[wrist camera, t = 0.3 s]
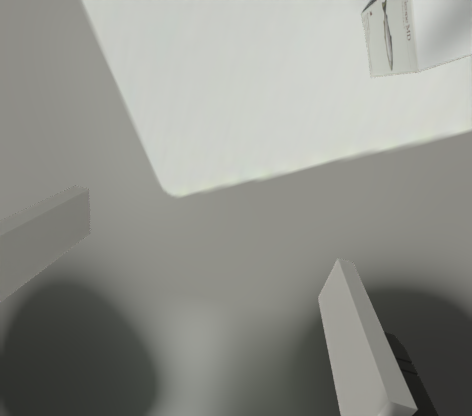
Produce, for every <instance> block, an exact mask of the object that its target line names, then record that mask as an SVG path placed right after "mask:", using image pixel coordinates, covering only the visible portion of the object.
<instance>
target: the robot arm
mask: <svg viewBox="0 0 472 416" xmlns="http://www.w3.org/2000/svg"><path fill="white" fill-rule="evenodd" d="M89 234H90V204H89V189H86V188H83V187H79V186H73V187H71V188H69V189H67V190H64V191H62V192H60V193H58V194H56V195H54V196H52V197H50V198H47V199H45V200H43V201H41V202H39V203H37V204H34V205H32V206H30V207H28V208H26V209H24V210H22V211H20V212H18V213H15V214H13V215H11V216H9V217H7V218H5V219H3V220H0V302H2V301H3V300H4V299H5V298H7V297H8V296H9V295H10V294H12V293H13V292H15V291H16V290H17V289H19V288H20V287H21V286H22V285H24V284H25V283H26V282H28V281H29V280H30V279H32V278H33V277H34V276H36V275H37V274H38V273H39V272H41V271H42V270H43V269H44V268H46V267H47V266H49V265H50V264H51V263H53V262H54V261H55V260H56V259H58V258H59V257H60V256H61V255H63V254H64V253H66V252H67V251H68V250H69V249H71V248H72V247H73V246H75V245H76V244H77V243H79V242H80V241H81V240H82V239H84V238H85V237H87V236H88V235H89ZM318 301H319V306H320V310H321V316H322V321H323V326H324V331H325V336H326V341H327V347H328V352H329V357H330V362H331V367H332V372H333V377H334V383H335V388H336V392H337V397H338V403H339V408H340V413H341V416H438V414H437V412H436V410H435V408H434V406H433V404H432V402H431V400H430V398H429V396H428V394H427V392H426V390H425V388H424V386H423V383H422V382H421V379H420V378H419V376H417V371H416V369H415V367H414V365H412V361H411V359H410V357H409V355H408V353H407V351H406V349H405V348H404V346H403V345H402V344H401V343H400V342H399V340H398V339H397V338H396V337H395V336H394V335H392V334H389V333H386V332H383V330H382V327H381V325H380V323H379V320H378V318H377V316H376V313H375V311H374V310H373V307H372V304H371V302H370V300H369V298H368V295H367V293H366V291H365V289H364V286H363V284H362V282H361V279H360V277H359V275H358V273H357V270H356V268H355V266H354V264H353V262H351V261H347V260H344V259H340V258H338V259H337V261H336V263H335V265H334V267H333V269H332V271H331V273H330V275H329V277H328V279H327V281H326V283H325V285H324V287H323V289H322V291H321V293H320V295H319V297H318Z"/></svg>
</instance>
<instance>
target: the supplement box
mask: <svg viewBox="0 0 472 416" xmlns="http://www.w3.org/2000/svg"><path fill="white" fill-rule="evenodd" d="M361 17H362V22H363V27H364V32H365V38H366V45H367V52H368V60H369V68H370V77H371V78H376V77H383V76H390V75H399V74H408V73H417V72H421V71H424V70H427V69H430V68H433V67H436V66H439V65H442V64H445V63H448V62H451V61H455V60H458V59H461V58H464V57H467V56H470V55H472V0H376V1H375V2H374V3H373V4H371V5H370V6H369V7H368V8H367V9H366V10H365V11H363V12H362V13H361Z"/></svg>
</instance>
